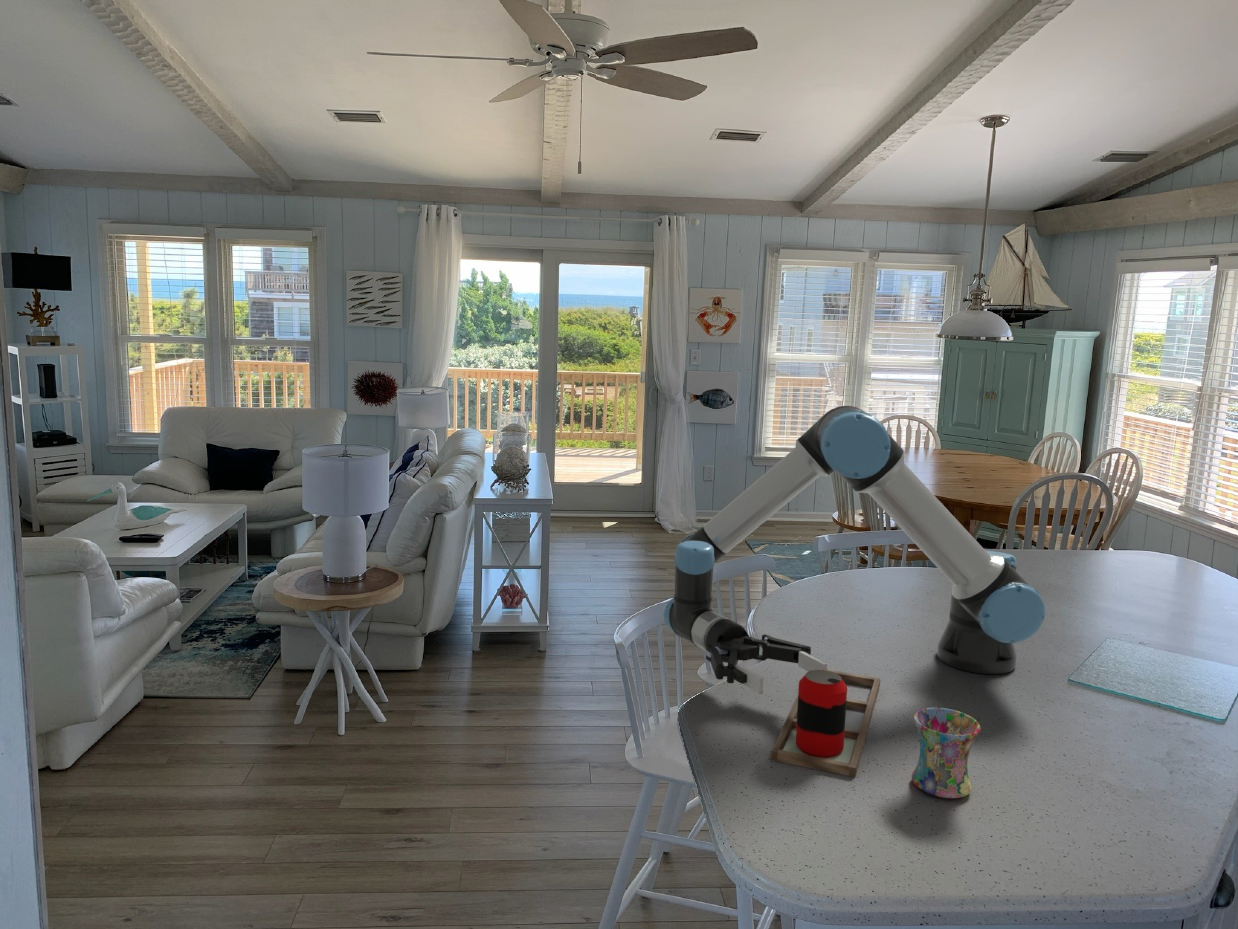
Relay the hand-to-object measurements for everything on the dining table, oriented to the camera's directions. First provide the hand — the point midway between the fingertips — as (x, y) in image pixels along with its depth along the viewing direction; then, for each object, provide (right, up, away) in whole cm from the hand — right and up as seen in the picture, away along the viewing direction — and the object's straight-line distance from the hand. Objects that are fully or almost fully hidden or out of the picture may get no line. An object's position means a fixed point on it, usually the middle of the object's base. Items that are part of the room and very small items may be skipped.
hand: (794, 678), depth 147 cm
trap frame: (+8, -9, +7) cm, 13 cm away
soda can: (+3, -10, -4) cm, 12 cm away
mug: (+18, -13, -16) cm, 28 cm away
